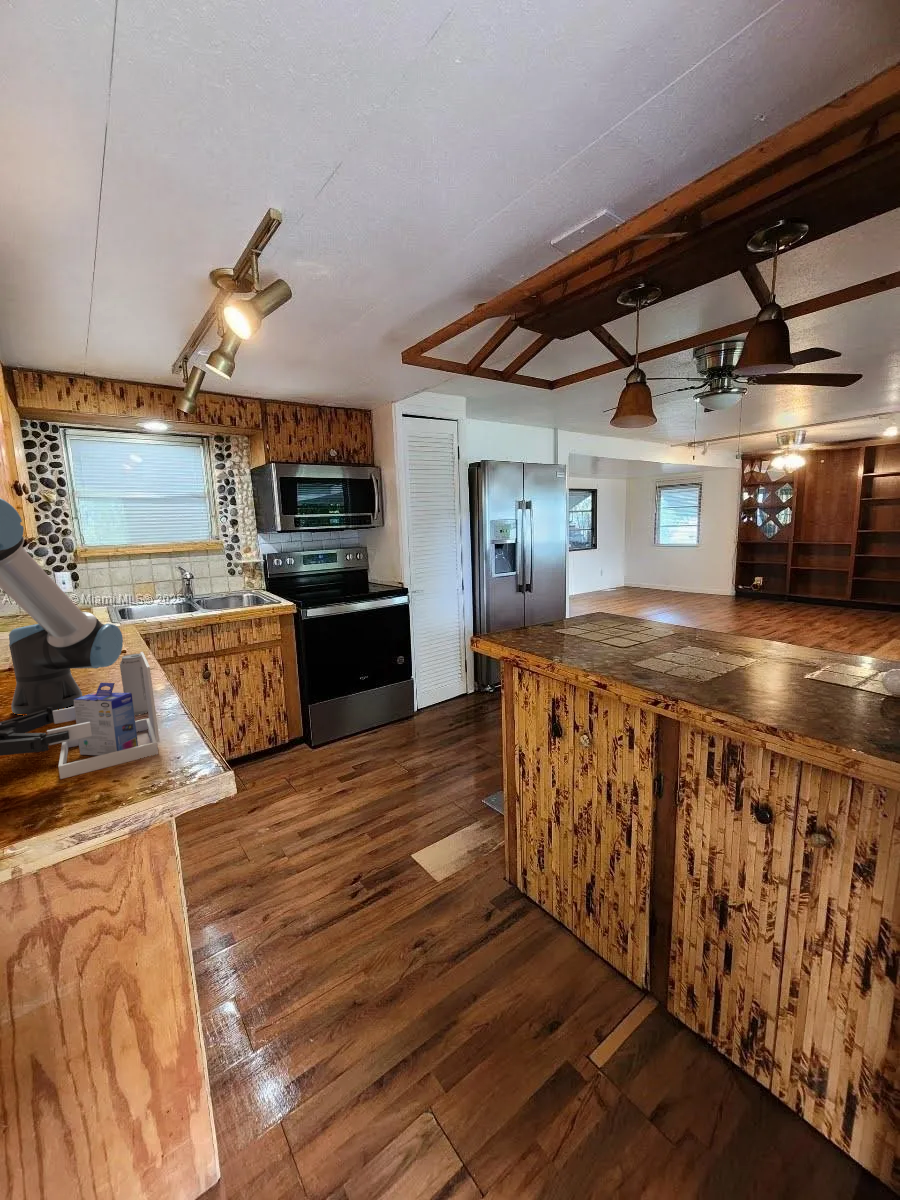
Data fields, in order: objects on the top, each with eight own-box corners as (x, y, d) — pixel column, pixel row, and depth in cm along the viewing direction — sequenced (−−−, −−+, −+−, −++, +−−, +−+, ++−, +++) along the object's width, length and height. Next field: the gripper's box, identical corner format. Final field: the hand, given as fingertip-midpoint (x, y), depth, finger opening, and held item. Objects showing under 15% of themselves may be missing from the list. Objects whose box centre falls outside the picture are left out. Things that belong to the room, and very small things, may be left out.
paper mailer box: (65, 747, 106) (51, 665, 104) (152, 727, 116) (142, 651, 113) (60, 779, 92) (45, 684, 89) (161, 753, 101) (149, 666, 99)
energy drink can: (132, 709, 129) (124, 654, 127) (157, 706, 131) (150, 652, 129) (122, 717, 124) (114, 659, 122) (149, 714, 125) (141, 657, 123)
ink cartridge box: (140, 746, 105) (132, 681, 103) (118, 758, 100) (109, 690, 98) (102, 744, 108) (93, 680, 106) (79, 755, 102) (68, 688, 100)
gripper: (-34, 745, 99) (94, 718, 111) (-68, 795, 79) (93, 756, 91) (-41, 709, 98) (89, 687, 110) (-77, 752, 78) (87, 718, 90)
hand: (91, 718), depth 101 cm, fingers open, 13 cm apart
